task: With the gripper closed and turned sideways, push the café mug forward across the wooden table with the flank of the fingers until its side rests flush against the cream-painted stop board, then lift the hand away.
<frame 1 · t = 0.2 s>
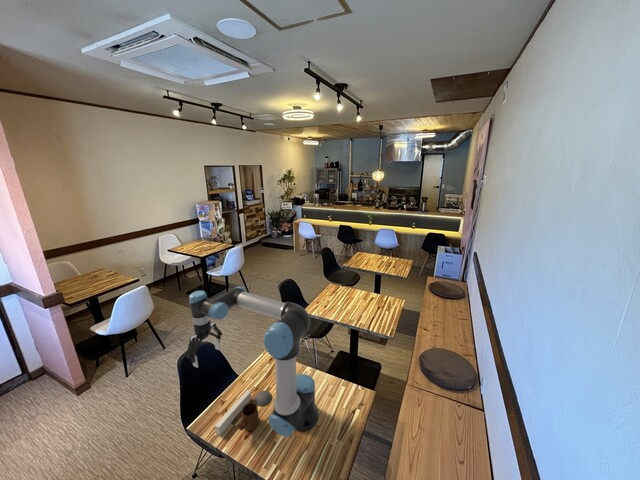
hand: (207, 357, 132), 28 cm above the table, fingers open, 13 cm apart
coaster: (262, 398, 140), on the table
stop board: (234, 414, 131), on the table
mug: (248, 428, 125), on the table
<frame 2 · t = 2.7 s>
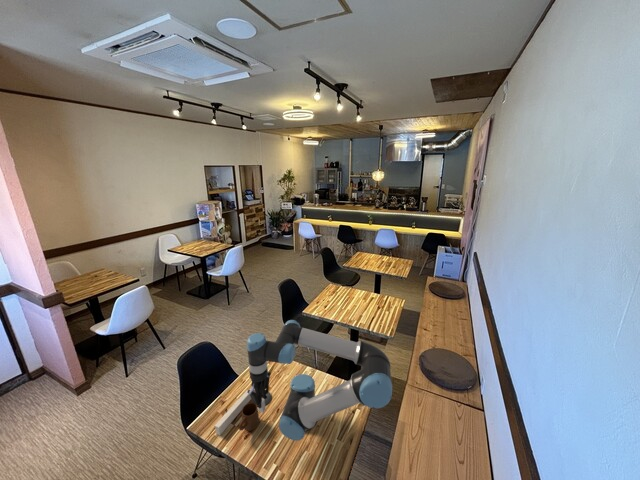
hand: (261, 410, 116), 16 cm above the table, fingers closed
nothing on the table moved.
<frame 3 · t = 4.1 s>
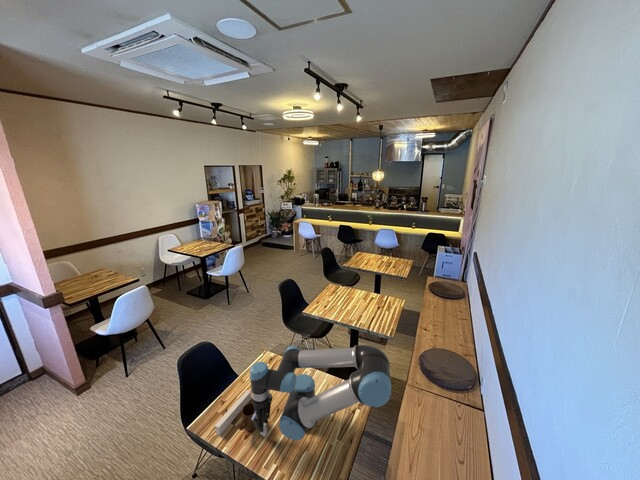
hand: (263, 434, 120), 2 cm above the table, fingers closed
nothing on the table moved.
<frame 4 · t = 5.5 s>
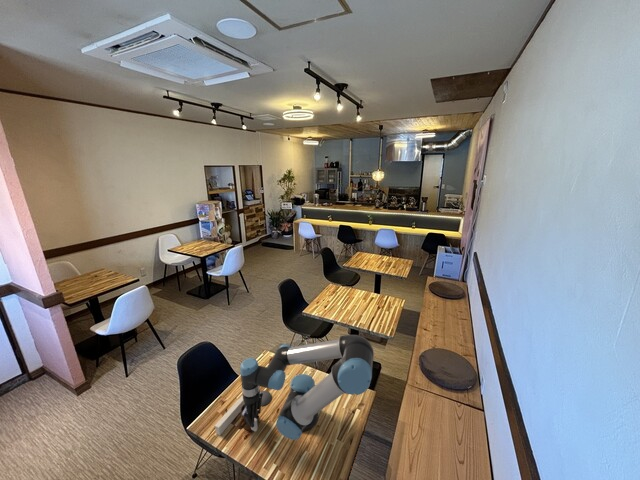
hand: (254, 429, 123), 2 cm above the table, fingers closed
mug: (247, 427, 125), on the table, touching gripper
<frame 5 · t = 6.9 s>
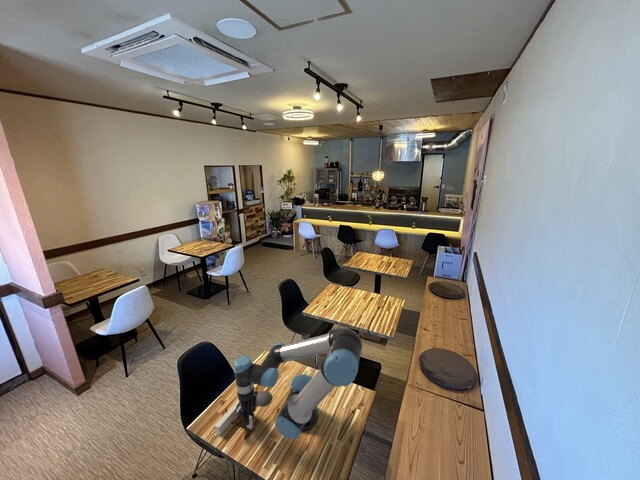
hand: (249, 426, 124), 1 cm above the table, fingers closed
mug: (243, 424, 126), on the table, touching gripper, hand
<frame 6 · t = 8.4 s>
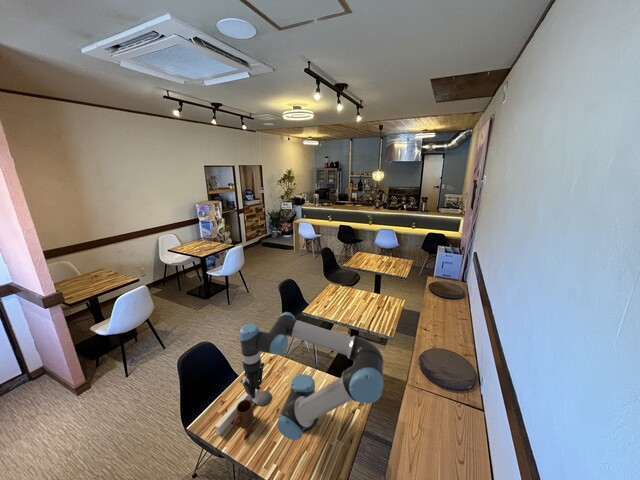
hand: (255, 401, 116), 20 cm above the table, fingers closed
mug: (243, 424, 126), on the table
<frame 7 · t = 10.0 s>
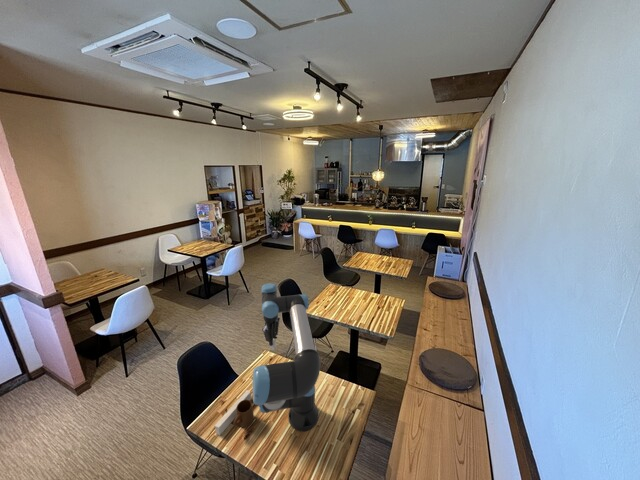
hand: (272, 348, 142), 24 cm above the table, fingers closed
nothing on the table moved.
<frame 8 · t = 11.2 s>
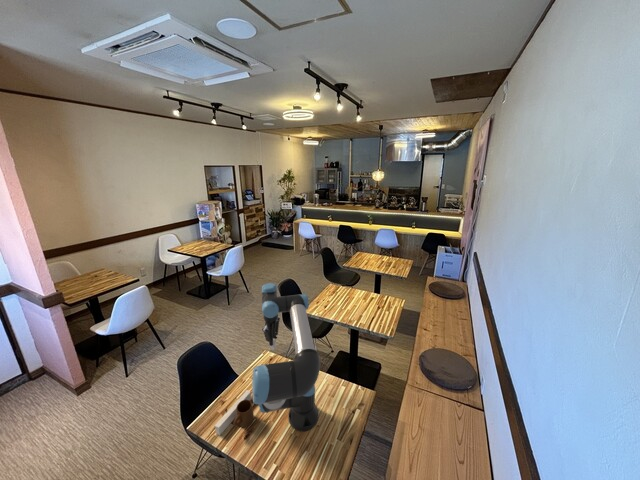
hand: (272, 348, 142), 24 cm above the table, fingers closed
nothing on the table moved.
at the end: mug inside the target area on the table beside the stop board (1.5 cm from its centre), on the table; mug tilted 0°; mug touching table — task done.
